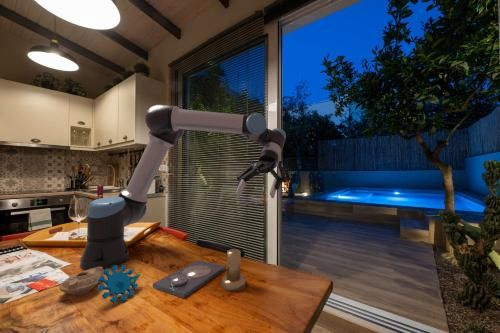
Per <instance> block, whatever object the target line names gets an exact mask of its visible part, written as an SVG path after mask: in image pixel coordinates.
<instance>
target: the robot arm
mask: <svg viewBox="0 0 500 333" xmlns="http://www.w3.org/2000/svg"><path fill="white" fill-rule="evenodd" d="M144 119H145V124H146V126H147V128H148V129H149V132H148V137H149V140H148V143H147V145H146V147H145V149H144V151H143V153H142V155H141V158H139V159H140V160H139V162H138V163H137V166H136V168H135V170H134V172H133V174H132V176H131V178H130V180H129V182H128V185H127V187H126V188H125V189H122V190H120V192H119V194H118V196H111V197H110V196H108V197H105V198H104V197H102V198H97V199H95V200H92V201H91V202H90V203H89V204H88V209H87V213H86V214H87V227H86V228H87V230H86V231H87V234H86V238H87V239H86V244H85V247H84V249H83V252H82V255H81V257H80V260H79V262H80V263H79V267H80V268H81V269H83V270H89V269H91V268H95V267H103V269H109V268H112V267H113V265H117V266H119V265H120V264H122V263H124V262H126V261H127V260H129V254H130V253H129V249H128V246H127V243H126V240H125V227H127V226H130V225H133V224H136V223H138V222H139V221H141V220H142V219H143V217H144V216H146V213H147V207H148V206H147V203H148V201H149V199H148V197H147V195H148V193H149V190H150V188H151V187H152V185H153V182H154V180H155V177H156V175H157V173H158V172H159V169H160V167H161V165H162V163H163V161H164V159H165V157H166V154H167V153H168V150H169V149H170V148H172V147H174V146H175V144H176V142H177V140H179V139H181V137H182V136H183V134H184V133H185V130H189V131H200V132H201V131H202V132H211V133H224V134H235V135H242V136H243V137H245V138H246V139H249V140H252V141H254V142H256V143H258V144H260V145H263V146H264V147H263V148H262V151H261V153H260V156H259V158H258V162H257V163H254V162H253V161H252V162H250V163H249V165H248V166H247V167H245V169H243V170H242V171H241V172H240V173H239V174H238V175H237V176H236V180H237V181H238V182H237V185H236V187H237V188H236V190H235V194H236V196H237V197H238V198H240V197H241V195H242V193H243V191H244V189H245V187H246V184H247V183H246V182H249V180H251V179H253V178H255V176H258V175H260V174H268V173H270V174H271V175H272V176H273V178H274V179H273V182H272V184H271V188H270V190H269V196H270V197H271V198H270V199H275V195H276V193H277V191H278V190H280V188H281V184H282V183H287V182H288V181H287V177H286V174H285V172H284V165H283V161H282V160H279V158H280V156H281V153H282V151H283V149H284V144H285V142H286V138H287V134H286V132H285V131H284V129H282V128H277V127H276V128H273V129H270V128H267V126H268V125H267V124H268V123H267V119H266V117H265V116H264V115H263V114H262V113H260V112H259V113H257V112H255V113H251V114H248V115H247V114H236V113H227V112H215V111H206V110H205V111H204V110H192V109H185V108H184V109H182V108H180V107H178V106H177V105H168V104H167V105H166V104H155V105H152V106H151V107H149V109H147V111H146V112H145V116H144ZM275 168H277V169H278V170H279V173H280V175H279V174H278V173H277V172H276V171H275ZM280 176H281V177H280Z"/></svg>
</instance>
